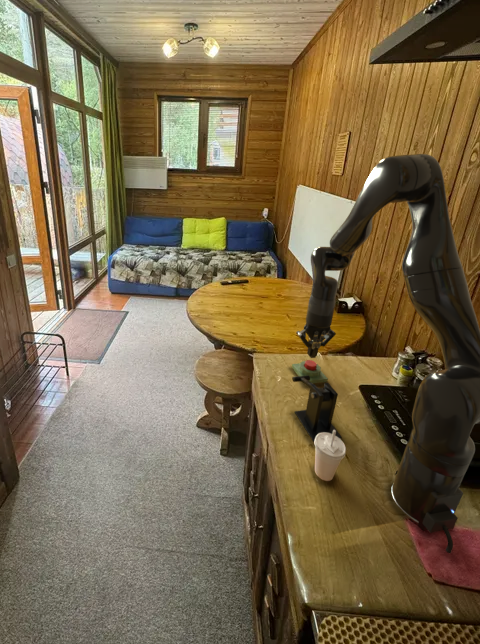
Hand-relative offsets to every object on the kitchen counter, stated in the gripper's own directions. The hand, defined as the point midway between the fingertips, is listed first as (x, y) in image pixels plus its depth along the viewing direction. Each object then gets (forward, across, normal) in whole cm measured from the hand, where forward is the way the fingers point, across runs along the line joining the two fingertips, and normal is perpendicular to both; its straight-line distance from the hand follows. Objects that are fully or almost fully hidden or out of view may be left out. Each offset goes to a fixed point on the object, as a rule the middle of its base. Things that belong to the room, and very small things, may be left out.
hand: (311, 356), depth 101 cm
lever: (0, -9, -15) cm, 18 cm away
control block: (+8, 0, 0) cm, 8 cm away
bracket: (+8, -9, -20) cm, 23 cm away
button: (+4, 0, 0) cm, 4 cm away
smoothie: (+8, -15, -33) cm, 37 cm away
